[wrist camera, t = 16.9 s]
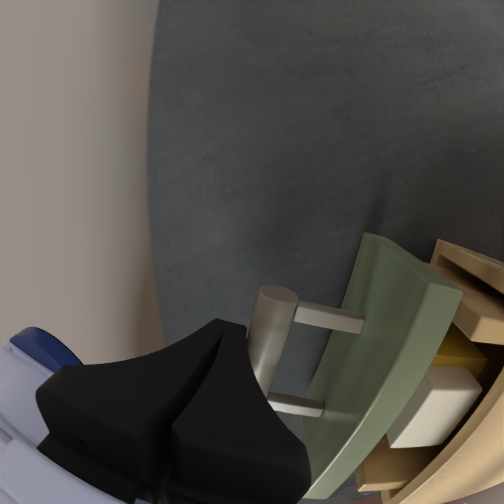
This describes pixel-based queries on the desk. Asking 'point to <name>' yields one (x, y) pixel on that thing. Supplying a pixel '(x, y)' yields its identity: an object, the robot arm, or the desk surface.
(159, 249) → the desk surface
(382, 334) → the drawer
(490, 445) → the cabinet
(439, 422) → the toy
